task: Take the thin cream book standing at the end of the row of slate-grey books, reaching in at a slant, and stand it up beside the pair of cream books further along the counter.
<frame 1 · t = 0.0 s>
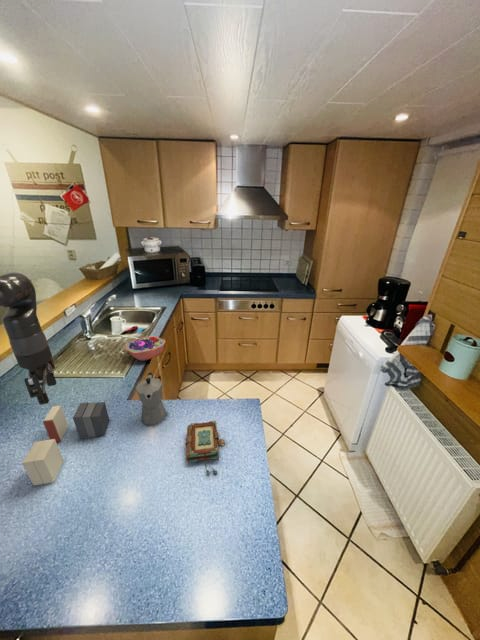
hand: (48, 393, 75), 23 cm above the worktop, tool pointing down, fingers open, 8 cm apart
grey books: (95, 429, 92), on the worktop
decorative book: (206, 450, 85), on the worktop
white books: (49, 472, 77), on the worktop
coffeepot: (154, 414, 99), on the worktop
white book: (60, 434, 90), on the worktop
cell model: (147, 357, 136), on the worktop
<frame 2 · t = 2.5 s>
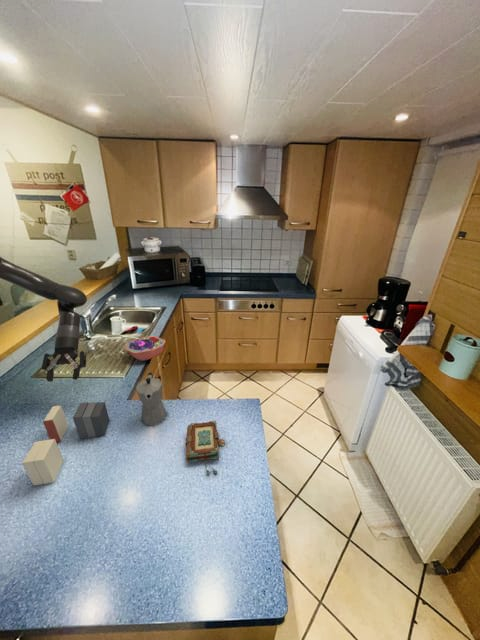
hand: (62, 380, 93), 16 cm above the worktop, tool tilted 45°, fingers open, 8 cm apart
nothing on the worktop moved.
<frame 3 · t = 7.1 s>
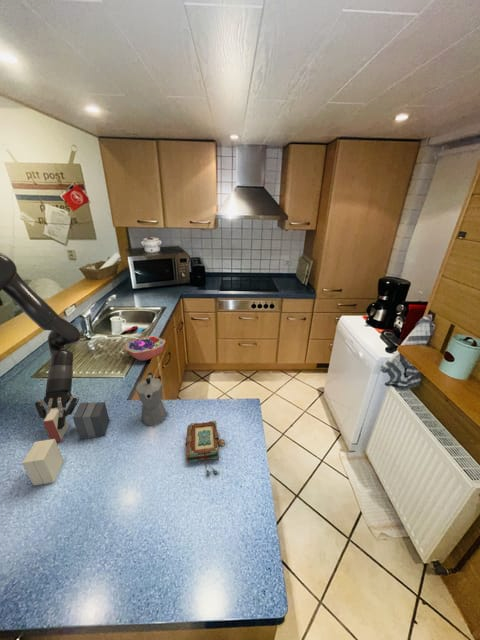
hand: (54, 429, 86), 4 cm above the worktop, tool tilted 45°, fingers closed on white book, 2 cm apart
white book: (60, 434, 90), on the worktop, touching gripper
everything else where it was.
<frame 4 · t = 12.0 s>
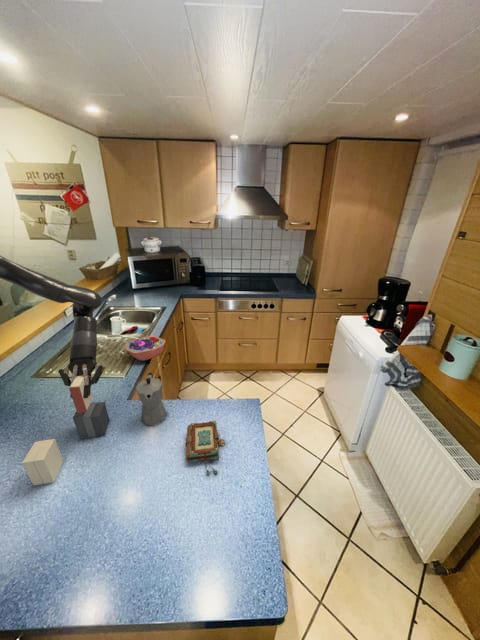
hand: (80, 398, 80), 19 cm above the worktop, tool tilted 45°, fingers closed on white book, 2 cm apart
white book: (85, 404, 83), point 14 cm above the worktop, touching gripper
everything else where it was.
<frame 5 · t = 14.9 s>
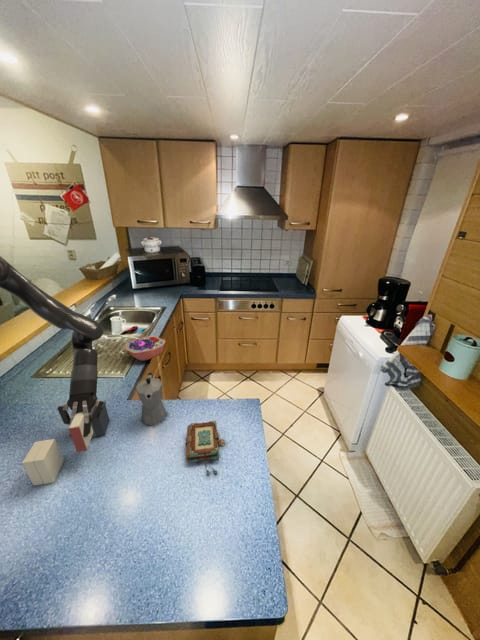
hand: (80, 437, 77), 10 cm above the worktop, tool tilted 45°, fingers closed on white book, 2 cm apart
white book: (85, 441, 80), point 6 cm above the worktop, touching gripper
everything else where it was.
when the fingers open (4 cm above the worktop, at t = 17.1 s): white book stays where it is, on the worktop.
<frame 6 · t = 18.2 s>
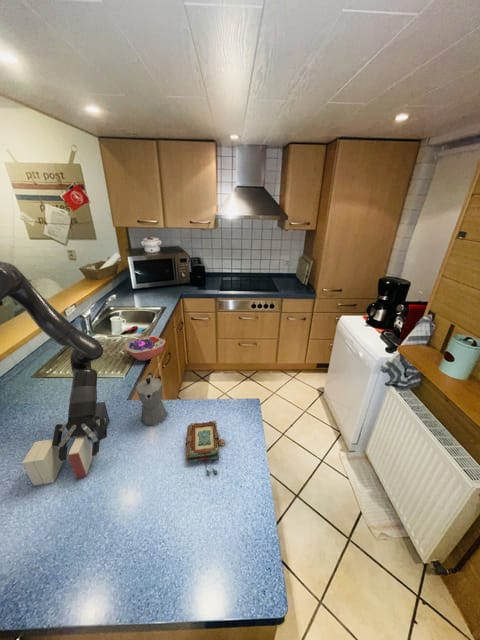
hand: (79, 458, 75), 6 cm above the worktop, tool tilted 45°, fingers open, 8 cm apart
white book: (85, 466, 79), on the worktop
everything else where it was.
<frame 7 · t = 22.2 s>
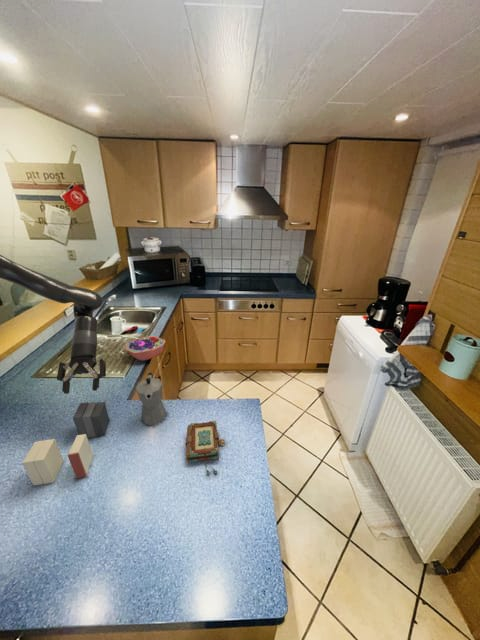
hand: (80, 392, 83), 18 cm above the worktop, tool tilted 45°, fingers open, 8 cm apart
nothing on the worktop moved.
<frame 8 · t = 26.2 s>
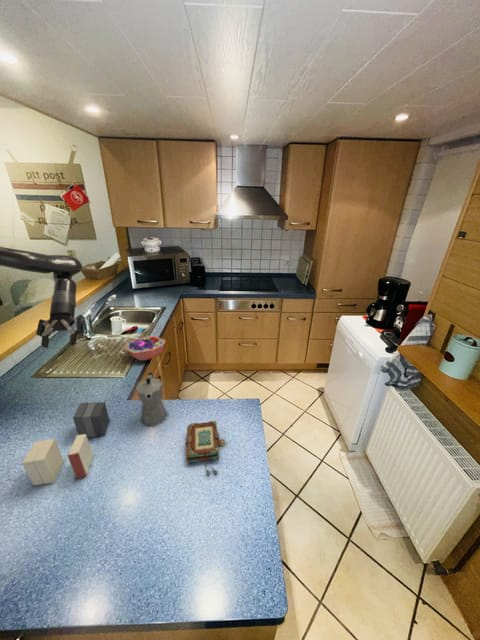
hand: (58, 346, 90), 29 cm above the worktop, tool tilted 45°, fingers open, 8 cm apart
nothing on the worktop moved.
at the end: white book 0.1 cm from the target spot, on the worktop; white book 10.0 cm from the white books (horizontally); white book tilted 0° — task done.
